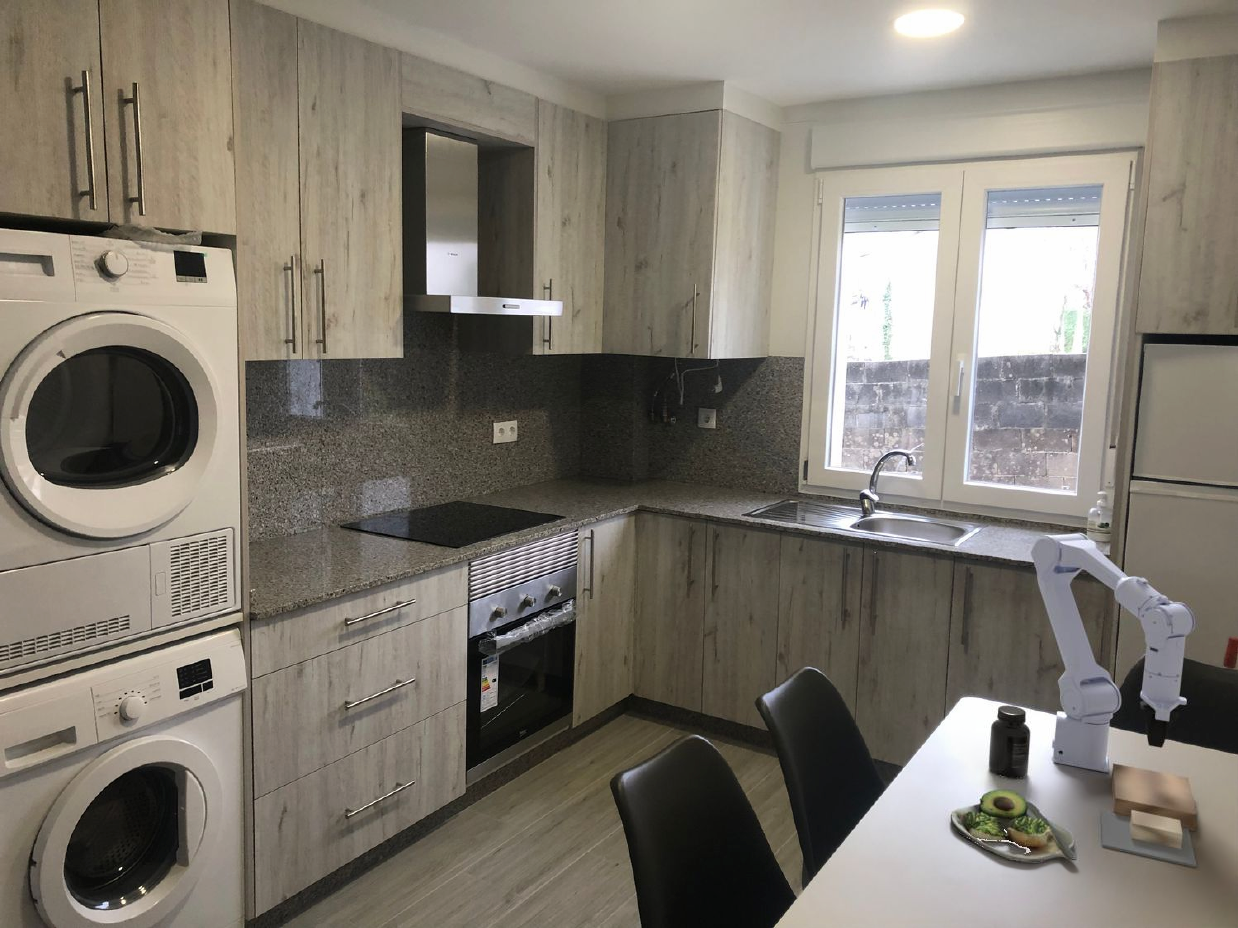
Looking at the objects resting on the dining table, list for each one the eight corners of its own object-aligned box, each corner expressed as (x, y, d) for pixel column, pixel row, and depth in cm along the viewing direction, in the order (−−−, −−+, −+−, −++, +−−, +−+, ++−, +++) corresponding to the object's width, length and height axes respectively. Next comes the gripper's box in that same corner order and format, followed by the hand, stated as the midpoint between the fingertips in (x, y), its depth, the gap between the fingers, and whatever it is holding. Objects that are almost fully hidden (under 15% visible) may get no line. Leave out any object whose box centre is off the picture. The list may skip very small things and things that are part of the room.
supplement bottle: (1026, 766, 181) (1031, 706, 179) (1028, 782, 174) (1034, 719, 173) (987, 760, 183) (992, 700, 181) (988, 775, 177) (993, 713, 175)
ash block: (1131, 809, 159) (1130, 823, 159) (1132, 823, 155) (1131, 837, 155) (1180, 819, 156) (1178, 834, 156) (1182, 833, 152) (1180, 848, 152)
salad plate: (1111, 858, 150) (1113, 830, 149) (1028, 883, 142) (1030, 854, 142) (1013, 802, 167) (1015, 777, 167) (935, 822, 160) (937, 796, 159)
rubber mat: (1102, 846, 153) (1102, 844, 153) (1100, 812, 164) (1101, 810, 164) (1196, 867, 147) (1196, 865, 147) (1188, 830, 158) (1188, 828, 158)
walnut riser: (1113, 814, 163) (1115, 797, 163) (1111, 778, 177) (1113, 763, 176) (1195, 831, 158) (1197, 814, 158) (1186, 793, 172) (1188, 777, 171)
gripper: (1193, 688, 159) (1185, 766, 161) (1185, 662, 172) (1177, 734, 174) (1145, 681, 162) (1137, 757, 164) (1140, 656, 175) (1133, 726, 177)
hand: (1155, 745), depth 169 cm, fingers closed
